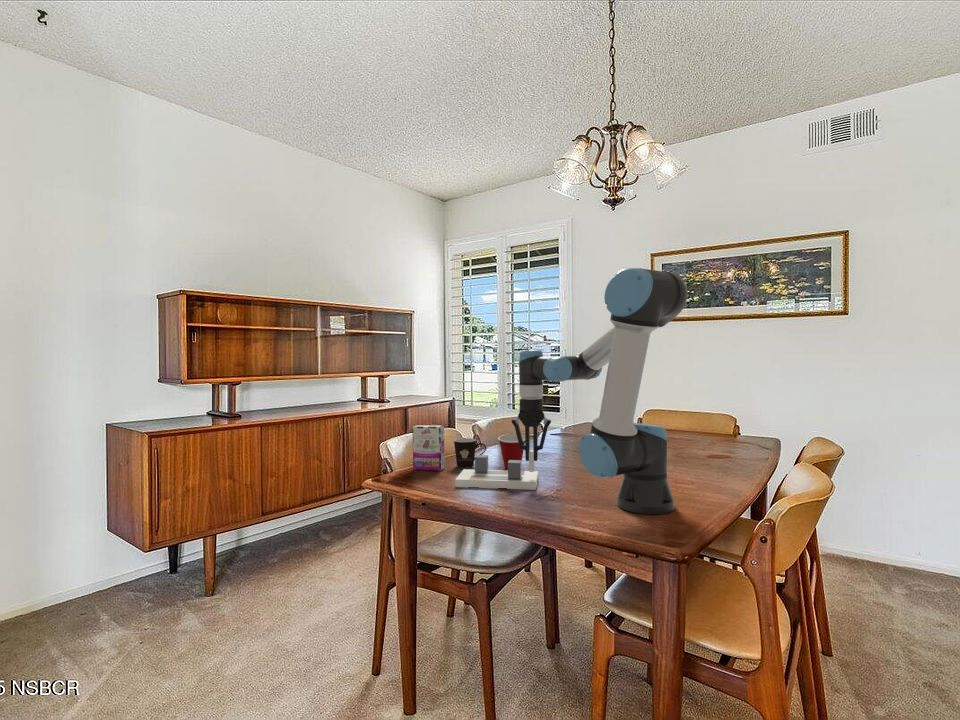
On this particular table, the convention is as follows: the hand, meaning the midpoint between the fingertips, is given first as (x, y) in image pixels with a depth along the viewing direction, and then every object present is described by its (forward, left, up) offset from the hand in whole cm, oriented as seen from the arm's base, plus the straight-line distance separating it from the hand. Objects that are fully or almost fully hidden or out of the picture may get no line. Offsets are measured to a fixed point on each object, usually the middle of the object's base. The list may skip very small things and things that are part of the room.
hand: (531, 470), depth 161 cm
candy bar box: (+19, +39, -5) cm, 44 cm away
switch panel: (+3, +11, -5) cm, 13 cm away
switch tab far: (+7, +17, -2) cm, 19 cm away
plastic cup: (+23, +8, -5) cm, 25 cm away
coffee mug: (+25, +25, -5) cm, 36 cm away
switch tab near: (0, +5, -2) cm, 6 cm away
